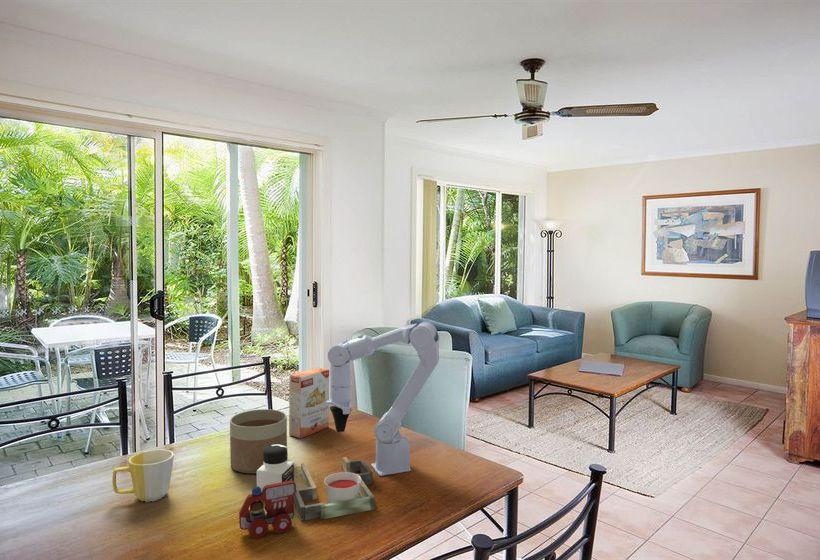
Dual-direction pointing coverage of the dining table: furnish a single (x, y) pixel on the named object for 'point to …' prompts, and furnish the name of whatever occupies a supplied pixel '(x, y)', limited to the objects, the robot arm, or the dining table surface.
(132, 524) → the dining table surface
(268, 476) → the medicine bottle
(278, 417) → the planter
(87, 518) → the dining table surface
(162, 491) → the mug
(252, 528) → the toy fire truck
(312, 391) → the cracker box
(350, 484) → the candle
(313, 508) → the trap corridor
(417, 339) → the robot arm
